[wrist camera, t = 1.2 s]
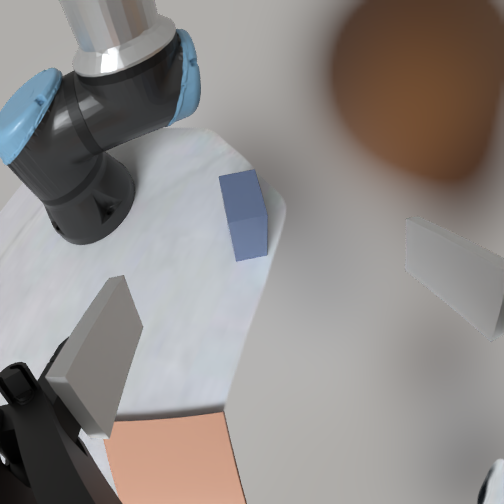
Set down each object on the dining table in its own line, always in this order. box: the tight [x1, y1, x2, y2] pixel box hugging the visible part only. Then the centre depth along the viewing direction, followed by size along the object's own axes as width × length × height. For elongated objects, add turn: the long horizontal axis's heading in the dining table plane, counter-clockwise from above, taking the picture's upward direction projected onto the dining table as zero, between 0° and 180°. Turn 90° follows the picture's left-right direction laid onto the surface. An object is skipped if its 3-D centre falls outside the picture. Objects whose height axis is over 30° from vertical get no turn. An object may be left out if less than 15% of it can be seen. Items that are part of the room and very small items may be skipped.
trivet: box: [103, 411, 247, 504], centre depth 28 cm, size 14×16×1 cm
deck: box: [219, 169, 268, 262], centre depth 36 cm, size 6×4×10 cm
